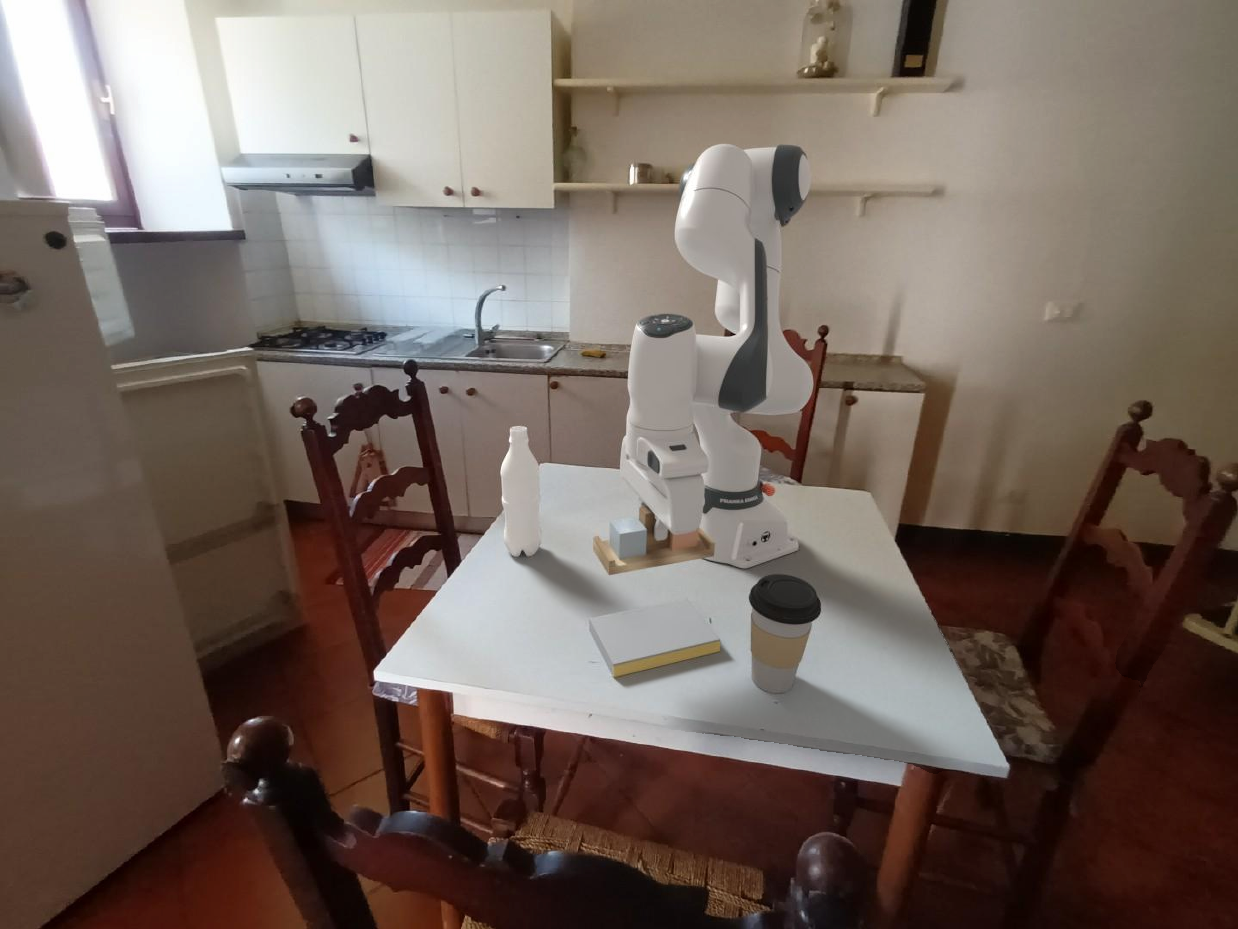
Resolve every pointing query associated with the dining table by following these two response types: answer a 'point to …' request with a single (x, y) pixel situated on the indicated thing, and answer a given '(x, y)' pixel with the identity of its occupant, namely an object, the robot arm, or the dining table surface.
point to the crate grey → (628, 538)
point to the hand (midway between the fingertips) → (654, 531)
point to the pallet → (652, 549)
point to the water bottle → (521, 495)
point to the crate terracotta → (683, 540)
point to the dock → (652, 636)
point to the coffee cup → (780, 629)
